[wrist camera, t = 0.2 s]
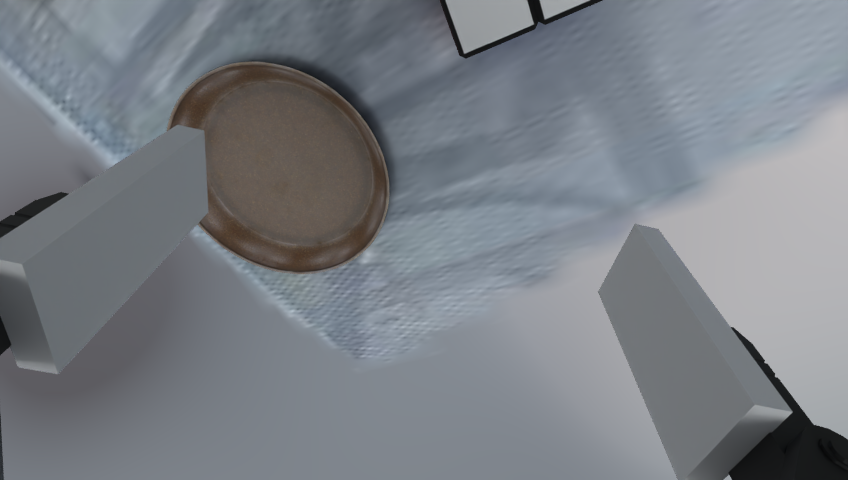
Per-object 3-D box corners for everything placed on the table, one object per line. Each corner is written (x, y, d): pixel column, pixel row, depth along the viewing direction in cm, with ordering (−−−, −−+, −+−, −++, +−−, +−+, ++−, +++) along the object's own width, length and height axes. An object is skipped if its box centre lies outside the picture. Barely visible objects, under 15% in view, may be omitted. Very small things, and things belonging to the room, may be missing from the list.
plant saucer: (263, 281, 52) (251, 299, 49) (138, 112, 43) (114, 122, 40) (429, 221, 46) (426, 238, 43) (324, 11, 37) (311, 15, 34)
